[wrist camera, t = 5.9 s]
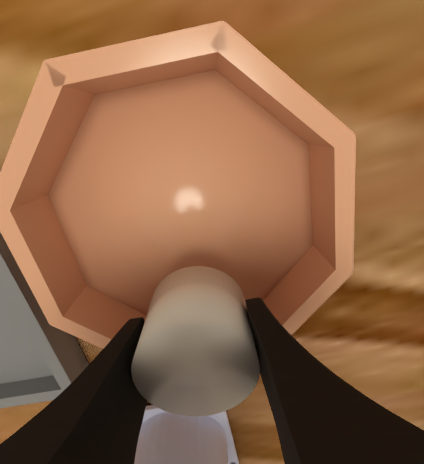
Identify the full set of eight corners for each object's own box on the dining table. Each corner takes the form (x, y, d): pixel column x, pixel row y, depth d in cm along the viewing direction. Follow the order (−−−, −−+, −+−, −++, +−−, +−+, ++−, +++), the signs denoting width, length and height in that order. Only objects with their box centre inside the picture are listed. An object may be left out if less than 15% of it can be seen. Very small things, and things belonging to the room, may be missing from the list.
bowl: (323, 301, 17) (352, 343, 13) (105, 338, 17) (81, 386, 14) (314, 30, 11) (358, -10, 8) (0, 98, 12) (-77, 86, 9)
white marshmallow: (250, 335, 13) (265, 407, 10) (164, 348, 13) (150, 423, 10) (238, 258, 11) (252, 312, 8) (140, 274, 12) (113, 334, 8)
